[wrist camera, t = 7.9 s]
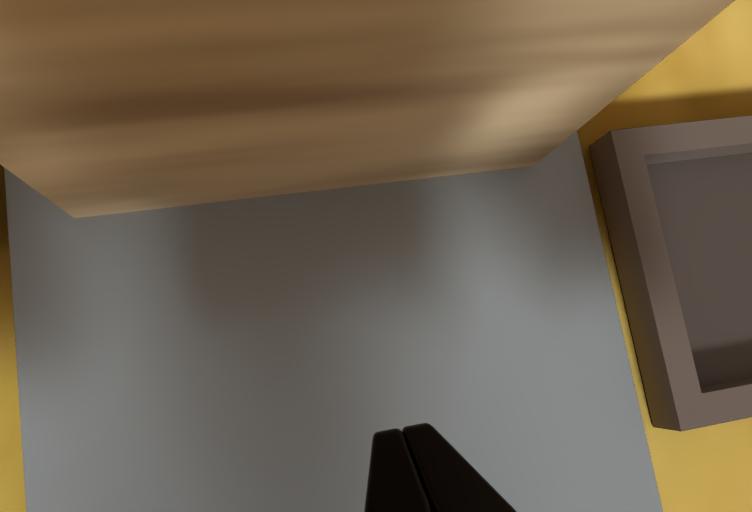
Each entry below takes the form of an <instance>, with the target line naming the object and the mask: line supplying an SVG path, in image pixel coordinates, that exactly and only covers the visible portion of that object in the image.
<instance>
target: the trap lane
mask: <svg viewBox="0 0 752 512" xmlns="http://www.w3.org/2000/svg"><path fill="white" fill-rule="evenodd" d="M589 148H590V152H591V156H592V161H593V165H594V170H595V174H596V178H597V183H598V187H599V192H600V196H601V200H602V205H603V209H604V213H605V218H606V222H607V227H608V231H609V235H610V240H611V244H612V249H613V253H614V257H615V262H616V266H617V270H618V275H619V279H620V284H621V288H622V292H623V297H624V301H625V306H626V310H627V314H628V319H629V323H630V328H631V332H632V336H633V341H634V345H635V349H636V354H637V358H638V363H639V367H640V371H641V376H642V380H643V385H644V389H645V393H646V398H647V402H648V406H649V411H650V415H651V420H652V424H653V427H656V428H663V429H669V430H676V431H685V430H690V429H695V428H700V427H705V426H710V425H715V424H720V423H725V422H730V421H735V420H739V419H744V418H749V417H752V115H751V116H742V117H732V118H723V119H714V120H704V121H695V122H685V123H676V124H666V125H657V126H648V127H638V128H629V129H619V130H611V131H609V132H608V133H606V134H605V135H604V136H602V137H601V138H600V139H598V140H597V141H596V142H594V143H593V144H592V145H590V146H589ZM4 173H5V188H6V203H7V219H8V234H9V249H10V265H11V280H12V295H13V311H14V326H15V342H16V357H17V372H18V388H19V403H20V418H21V434H22V449H23V464H24V480H25V495H26V510H27V512H364V508H365V500H366V491H367V482H368V474H369V465H370V456H371V447H372V439H373V435H374V433H376V432H378V431H383V430H389V429H394V428H398V429H400V430H401V431H402V429H403V428H404V427H406V426H410V425H416V424H421V423H428V424H430V425H432V426H433V427H434V428H435V429H436V430H437V431H438V432H439V433H440V434H441V435H442V436H443V437H444V438H445V439H446V440H447V441H448V442H449V443H450V444H451V445H452V446H453V447H454V448H455V449H456V450H457V451H458V452H459V453H460V454H461V455H462V456H463V457H464V458H465V459H466V460H467V461H468V462H469V463H470V464H471V465H472V466H473V468H474V469H475V470H476V471H477V472H478V473H479V474H480V475H481V476H482V477H483V478H484V479H485V480H486V481H487V482H488V483H489V484H490V485H491V486H492V487H493V488H494V489H495V490H496V491H497V492H498V493H499V494H500V495H501V496H502V497H503V498H504V499H505V500H506V501H507V502H508V503H509V504H510V505H511V506H512V507H513V508H514V509H515V510H516V511H517V512H663V509H662V505H661V501H660V496H659V492H658V487H657V483H656V478H655V474H654V470H653V465H652V461H651V456H650V452H649V447H648V443H647V439H646V434H645V430H644V425H643V421H642V416H641V412H640V408H639V403H638V399H637V394H636V390H635V385H634V381H633V376H632V372H631V368H630V363H629V359H628V354H627V350H626V345H625V341H624V337H623V332H622V328H621V323H620V319H619V314H618V310H617V306H616V301H615V297H614V292H613V288H612V283H611V279H610V275H609V270H608V266H607V261H606V257H605V252H604V248H603V243H602V239H601V235H600V230H599V226H598V221H597V217H596V212H595V208H594V204H593V199H592V195H591V190H590V186H589V181H588V177H587V173H586V168H585V164H584V159H583V155H582V150H581V146H580V141H579V137H578V133H577V131H576V132H575V133H573V134H572V135H571V136H570V137H568V138H567V139H566V140H565V141H564V142H562V143H561V144H560V145H559V146H558V147H556V148H555V149H554V150H553V151H551V152H550V153H549V154H548V155H547V156H545V157H544V158H543V159H542V160H541V161H539V162H538V163H537V164H536V165H534V166H529V167H520V168H511V169H502V170H494V171H485V172H476V173H467V174H459V175H450V176H441V177H432V178H424V179H415V180H406V181H397V182H389V183H380V184H371V185H362V186H354V187H345V188H336V189H327V190H319V191H310V192H301V193H292V194H284V195H275V196H266V197H257V198H249V199H240V200H231V201H222V202H214V203H205V204H196V205H188V206H179V207H170V208H161V209H153V210H144V211H135V212H126V213H118V214H109V215H100V216H91V217H83V218H73V217H72V216H70V215H69V214H68V213H66V212H65V211H64V210H62V209H61V208H59V207H58V206H57V205H55V204H54V203H53V202H51V201H50V200H48V199H47V198H46V197H44V196H43V195H41V194H40V193H39V192H37V191H36V190H35V189H33V188H32V187H30V186H29V185H28V184H26V183H25V182H24V181H22V180H21V179H19V178H18V177H17V176H15V175H14V174H13V173H11V172H10V171H8V170H7V169H6V168H4Z"/></svg>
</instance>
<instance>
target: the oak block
mask: <svg viewBox="0 0 752 512" xmlns="http://www.w3.org/2000/svg"><path fill="white" fill-rule="evenodd" d="M734 1H735V0H0V165H2V166H3V167H4V168H6V169H7V170H8V171H10V172H11V173H13V174H14V175H15V176H17V177H18V178H19V179H21V180H22V181H24V182H25V183H26V184H28V185H29V186H30V187H32V188H33V189H35V190H36V191H37V192H39V193H40V194H41V195H43V196H44V197H46V198H47V199H48V200H50V201H51V202H53V203H54V204H55V205H57V206H58V207H59V208H61V209H62V210H64V211H65V212H66V213H68V214H69V215H70V216H72V217H73V218H83V217H91V216H100V215H109V214H118V213H126V212H135V211H144V210H153V209H161V208H170V207H179V206H188V205H196V204H205V203H214V202H222V201H231V200H240V199H249V198H257V197H266V196H275V195H284V194H292V193H301V192H310V191H319V190H327V189H336V188H345V187H354V186H362V185H371V184H380V183H389V182H397V181H406V180H415V179H424V178H432V177H441V176H450V175H459V174H467V173H476V172H485V171H494V170H502V169H511V168H520V167H529V166H534V165H536V164H537V163H538V162H539V161H541V160H542V159H543V158H544V157H545V156H547V155H548V154H549V153H550V152H551V151H553V150H554V149H555V148H556V147H558V146H559V145H560V144H561V143H562V142H564V141H565V140H566V139H567V138H568V137H570V136H571V135H572V134H573V133H575V132H576V131H577V130H578V129H579V128H581V127H582V126H583V125H584V124H585V123H587V122H588V121H589V120H590V119H592V118H593V117H594V116H595V115H596V114H598V113H599V112H600V111H601V110H602V109H604V108H605V107H606V106H607V105H608V104H610V103H611V102H612V101H613V100H615V99H616V98H617V97H618V96H619V95H621V94H622V93H623V92H624V91H625V90H627V89H628V88H629V87H630V86H632V85H633V84H634V83H635V82H636V81H638V80H639V79H640V78H641V77H642V76H644V75H645V74H646V73H647V72H649V71H650V70H651V69H652V68H653V67H655V66H656V65H657V64H658V63H659V62H661V61H662V60H663V59H664V58H666V57H667V56H668V55H669V54H670V53H672V52H673V51H674V50H675V49H676V48H678V47H679V46H680V45H681V44H683V43H684V42H685V41H686V40H687V39H689V38H690V37H691V36H692V35H693V34H695V33H696V32H697V31H698V30H700V29H701V28H702V27H703V26H704V25H706V24H707V23H708V22H709V21H710V20H712V19H713V18H714V17H715V16H717V15H718V14H719V13H720V12H721V11H723V10H724V9H725V8H726V7H727V6H729V5H730V4H731V3H732V2H734Z"/></svg>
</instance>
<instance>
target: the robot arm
mask: <svg viewBox="0 0 752 512" xmlns="http://www.w3.org/2000/svg"><path fill="white" fill-rule="evenodd" d="M364 512H517V511H516V510H515V509H514V508H513V507H512V506H511V505H510V504H509V503H508V502H507V501H506V500H505V499H504V498H503V497H502V496H501V495H500V494H499V493H498V492H497V491H496V490H495V489H494V488H493V487H492V486H491V485H490V484H489V483H488V482H487V481H486V480H485V479H484V478H483V477H482V476H481V475H480V474H479V473H478V472H477V471H476V470H475V469H474V468H473V466H472V465H471V464H470V463H469V462H468V461H467V460H466V459H465V458H464V457H463V456H462V455H461V454H460V453H459V452H458V451H457V450H456V449H455V448H454V447H453V446H452V445H451V444H450V443H449V442H448V441H447V440H446V439H445V438H444V437H443V436H442V435H441V434H440V433H439V432H438V431H437V430H436V429H435V428H434V427H433V426H432V425H430V424H428V423H421V424H416V425H410V426H406V427H404V428H403V429H402V431H401V430H400V429H398V428H394V429H389V430H383V431H378V432H376V433H374V435H373V439H372V447H371V456H370V465H369V474H368V482H367V491H366V500H365V508H364Z"/></svg>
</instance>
